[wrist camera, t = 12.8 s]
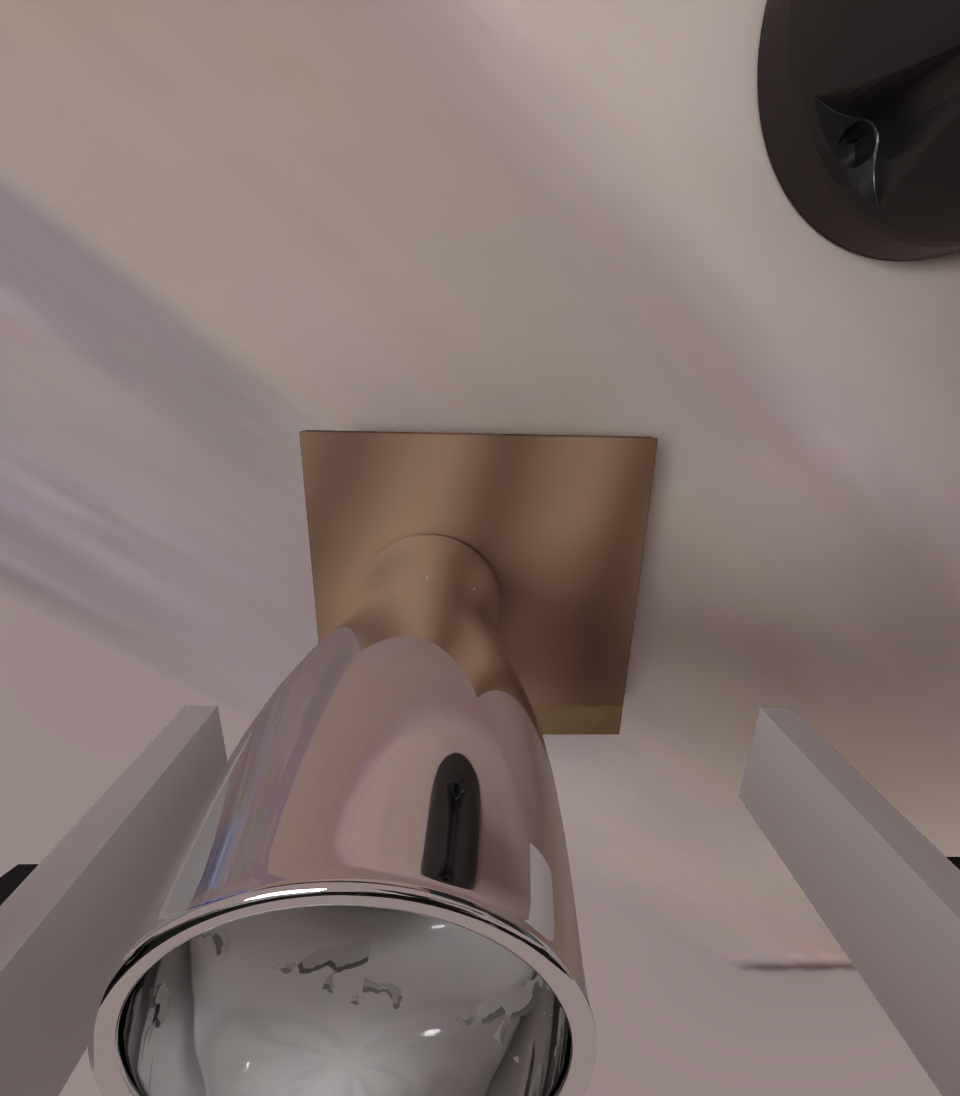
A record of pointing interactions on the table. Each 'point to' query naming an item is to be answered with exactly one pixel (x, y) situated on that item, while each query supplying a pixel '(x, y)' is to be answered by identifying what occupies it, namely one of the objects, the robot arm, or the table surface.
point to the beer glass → (368, 878)
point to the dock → (500, 543)
